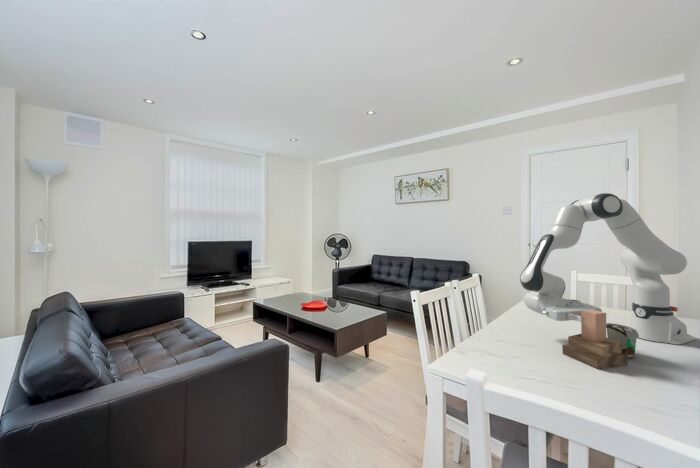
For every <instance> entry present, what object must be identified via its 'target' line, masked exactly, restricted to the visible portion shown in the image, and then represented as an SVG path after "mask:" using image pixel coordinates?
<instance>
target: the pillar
mask: <svg viewBox="0 0 700 468" xmlns="http://www.w3.org/2000/svg"><path fill="white" fill-rule="evenodd" d="M581 316H583V317H584V321H583V322H581V323H580V325H581V327H580V328H581V332H580V334H581V337H582V338H585V339H588V340H591V341H594V342H601V341H606V338H607V328H606V325H607V312H604V311H602V312H601V311H596V310H592V309H590V310H581Z"/></svg>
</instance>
